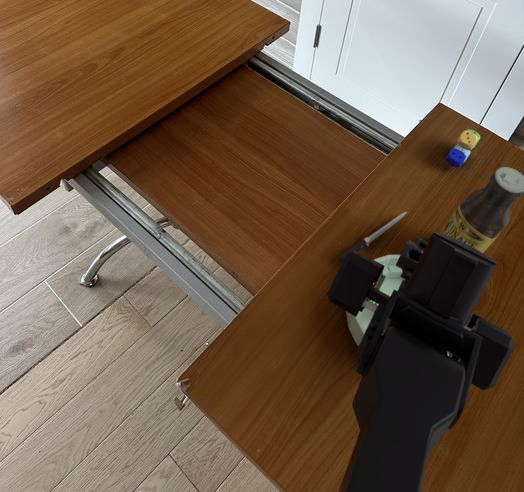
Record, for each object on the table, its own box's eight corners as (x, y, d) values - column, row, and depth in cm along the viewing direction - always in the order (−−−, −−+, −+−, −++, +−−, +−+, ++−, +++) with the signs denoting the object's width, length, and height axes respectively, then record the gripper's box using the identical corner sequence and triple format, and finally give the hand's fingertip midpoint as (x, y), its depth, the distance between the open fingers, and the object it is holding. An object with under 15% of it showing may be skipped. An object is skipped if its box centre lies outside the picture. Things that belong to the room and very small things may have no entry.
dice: (454, 175, 89) (468, 151, 84) (440, 167, 90) (453, 142, 85) (473, 150, 94) (487, 125, 89) (460, 142, 95) (473, 118, 90)
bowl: (478, 332, 71) (491, 318, 67) (405, 404, 64) (416, 392, 60) (396, 251, 78) (404, 236, 75) (322, 308, 71) (328, 293, 68)
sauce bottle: (422, 246, 79) (471, 164, 64) (454, 232, 81) (508, 150, 66) (449, 282, 75) (507, 204, 60) (482, 267, 77) (545, 188, 63)
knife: (403, 215, 83) (407, 208, 81) (406, 218, 82) (410, 211, 81) (337, 262, 76) (339, 256, 75) (340, 266, 76) (342, 259, 74)
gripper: (555, 315, 45) (524, 278, 60) (360, 215, 51) (376, 204, 65) (497, 423, 46) (480, 361, 61) (312, 314, 52) (338, 281, 66)
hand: (417, 297), depth 63 cm, fingers open, 9 cm apart
